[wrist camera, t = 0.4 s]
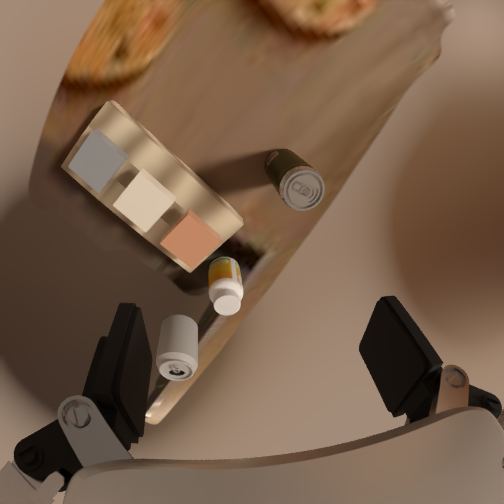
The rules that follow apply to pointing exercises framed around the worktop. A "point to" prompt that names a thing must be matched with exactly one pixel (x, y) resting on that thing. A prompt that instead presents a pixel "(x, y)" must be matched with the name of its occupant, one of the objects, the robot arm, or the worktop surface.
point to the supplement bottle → (225, 285)
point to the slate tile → (98, 160)
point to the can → (178, 348)
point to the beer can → (294, 180)
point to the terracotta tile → (190, 239)
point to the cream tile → (144, 200)
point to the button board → (164, 171)
